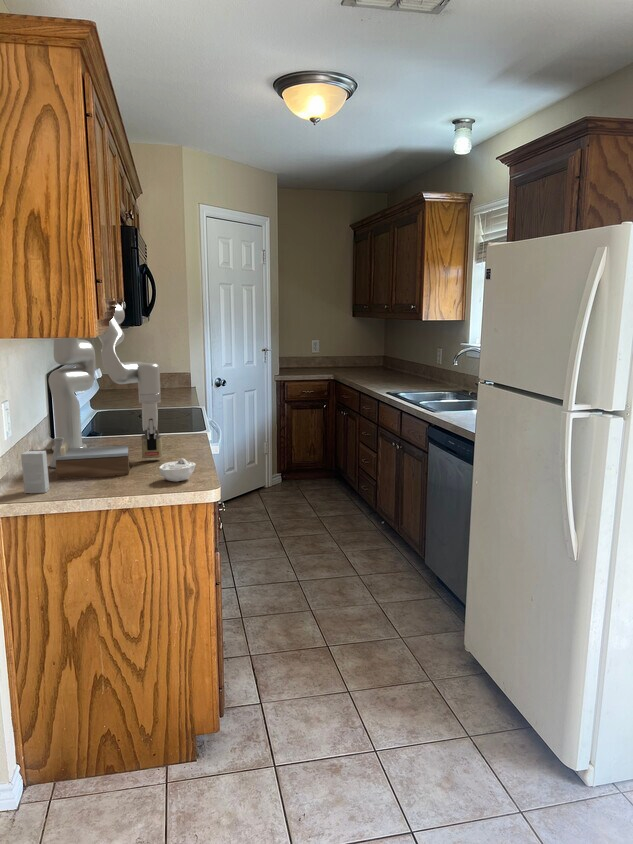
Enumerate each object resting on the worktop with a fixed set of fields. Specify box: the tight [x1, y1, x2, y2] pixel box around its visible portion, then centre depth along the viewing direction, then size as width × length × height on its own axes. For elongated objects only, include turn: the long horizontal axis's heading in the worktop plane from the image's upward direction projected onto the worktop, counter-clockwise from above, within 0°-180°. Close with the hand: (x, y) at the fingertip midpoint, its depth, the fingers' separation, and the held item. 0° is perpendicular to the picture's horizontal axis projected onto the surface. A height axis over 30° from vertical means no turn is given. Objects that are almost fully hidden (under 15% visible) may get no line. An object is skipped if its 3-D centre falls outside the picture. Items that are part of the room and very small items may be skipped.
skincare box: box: [20, 450, 50, 494], centre depth 183 cm, size 6×4×12 cm
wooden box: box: [55, 450, 130, 480], centre depth 206 cm, size 13×22×6 cm, turn 106°
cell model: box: [158, 457, 196, 482], centre depth 196 cm, size 10×12×7 cm
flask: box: [49, 437, 64, 469], centre depth 215 cm, size 7×7×10 cm
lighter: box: [140, 429, 163, 459], centre depth 223 cm, size 7×4×10 cm, turn 106°
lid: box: [56, 442, 129, 460], centre depth 206 cm, size 13×22×4 cm, turn 106°
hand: (151, 448), depth 223 cm, fingers closed on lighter, 3 cm apart
